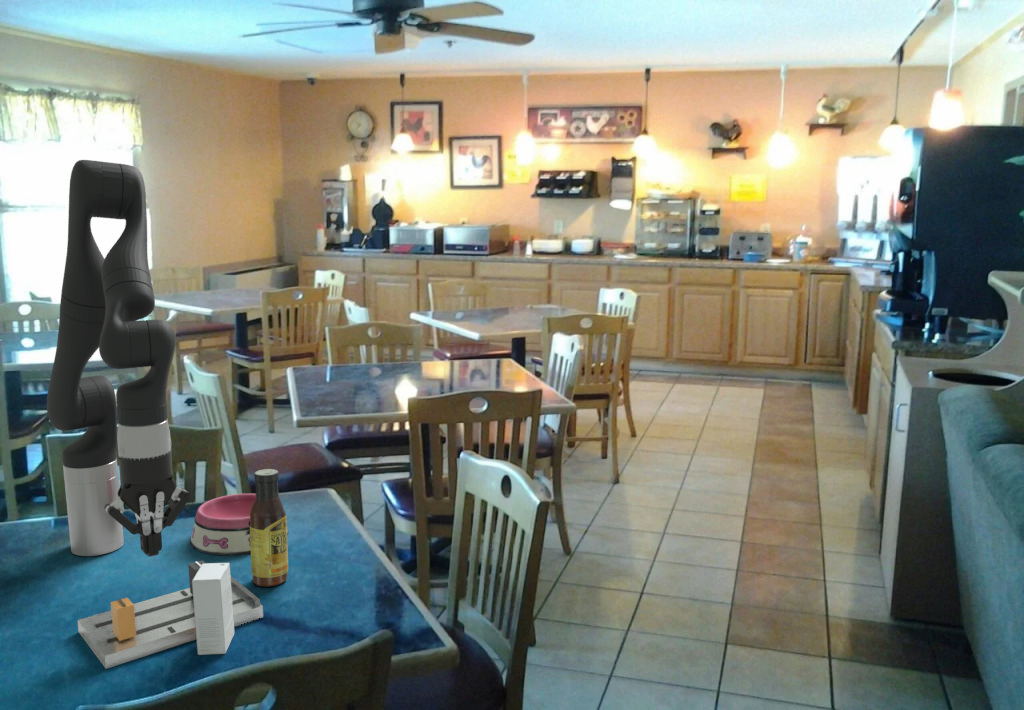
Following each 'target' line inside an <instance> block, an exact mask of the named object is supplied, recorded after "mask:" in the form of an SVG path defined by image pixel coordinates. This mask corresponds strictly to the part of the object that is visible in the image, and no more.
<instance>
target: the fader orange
mask: <svg viewBox="0 0 1024 710" xmlns="http://www.w3.org/2000/svg"><path fill="white" fill-rule="evenodd" d="M134 604H135V603H133V602H132V601H131V599H129V598H128V597H124V598H121V599H120V598H119V599H118V600H115V601H114V600H113V601H111V602H110V611H111V613H112V625H113V634H114V635H115V636H116V637H117V639H118V640H119V641H121V640H125V639H128V638H131V637H134V636H136V625H135V613H134Z"/></svg>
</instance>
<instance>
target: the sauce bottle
mask: <svg viewBox="0 0 1024 710" xmlns="http://www.w3.org/2000/svg"><path fill="white" fill-rule="evenodd" d="M253 474H254V476H253V477H254V482H255V494H256V500H255V502H254V503H253V505H252V507H251V510H250V544H251V553H250V564H251V565H250V567H251V568H250V569H251V574H252V581H253V583H254V584H255V585H256V586H259V587H266V588H268V587H275V586H278V585H281V584H283V583H284V582H286V580H287V578H288V571H289V549H288V535H287V529H288V525H287V524H288V523H287V521H288V519H287V513H286V510H285V508H284V505H283V502H282V500H281V498H280V495H279V494H280V493H279V481H278V480H279V478H280V475H279V471H278V470H277V469H274V468H265V469H259V470H257V471H255V472H254V473H253Z"/></svg>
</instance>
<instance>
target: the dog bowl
mask: <svg viewBox="0 0 1024 710" xmlns="http://www.w3.org/2000/svg"><path fill="white" fill-rule="evenodd" d="M255 500H256V493H234V494H228V495H223V496H219V497H215V498H212V499H210V500H208V501H206V502H204V503H202V504H201V505H200V506H199V507H198V508H197V510H196V514H195V517H194V523H193V528H192V533H191V538H190V546H191V547H192V548H193V549H194V550H196V551H197V552H200V553H203V554H205V553H206V555H211V556H219V555H220V556H224V557H226V556H227V557H229V556H231V555H232V556H242V555H251V544H250V510H251V507H252V505H253V503H254V502H255ZM288 535H289V530H288V528H287V536H288ZM232 556H231V557H232Z"/></svg>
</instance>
